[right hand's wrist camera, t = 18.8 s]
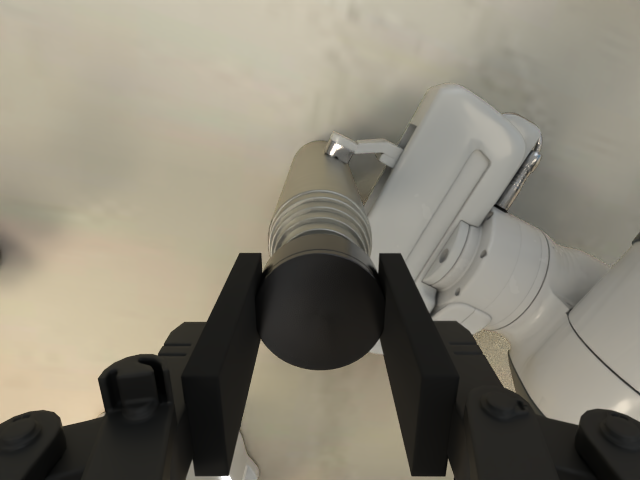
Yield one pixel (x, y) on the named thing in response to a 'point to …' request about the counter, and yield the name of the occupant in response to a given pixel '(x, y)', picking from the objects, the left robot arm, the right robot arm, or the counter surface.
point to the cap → (320, 303)
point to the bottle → (319, 201)
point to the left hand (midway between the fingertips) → (308, 181)
